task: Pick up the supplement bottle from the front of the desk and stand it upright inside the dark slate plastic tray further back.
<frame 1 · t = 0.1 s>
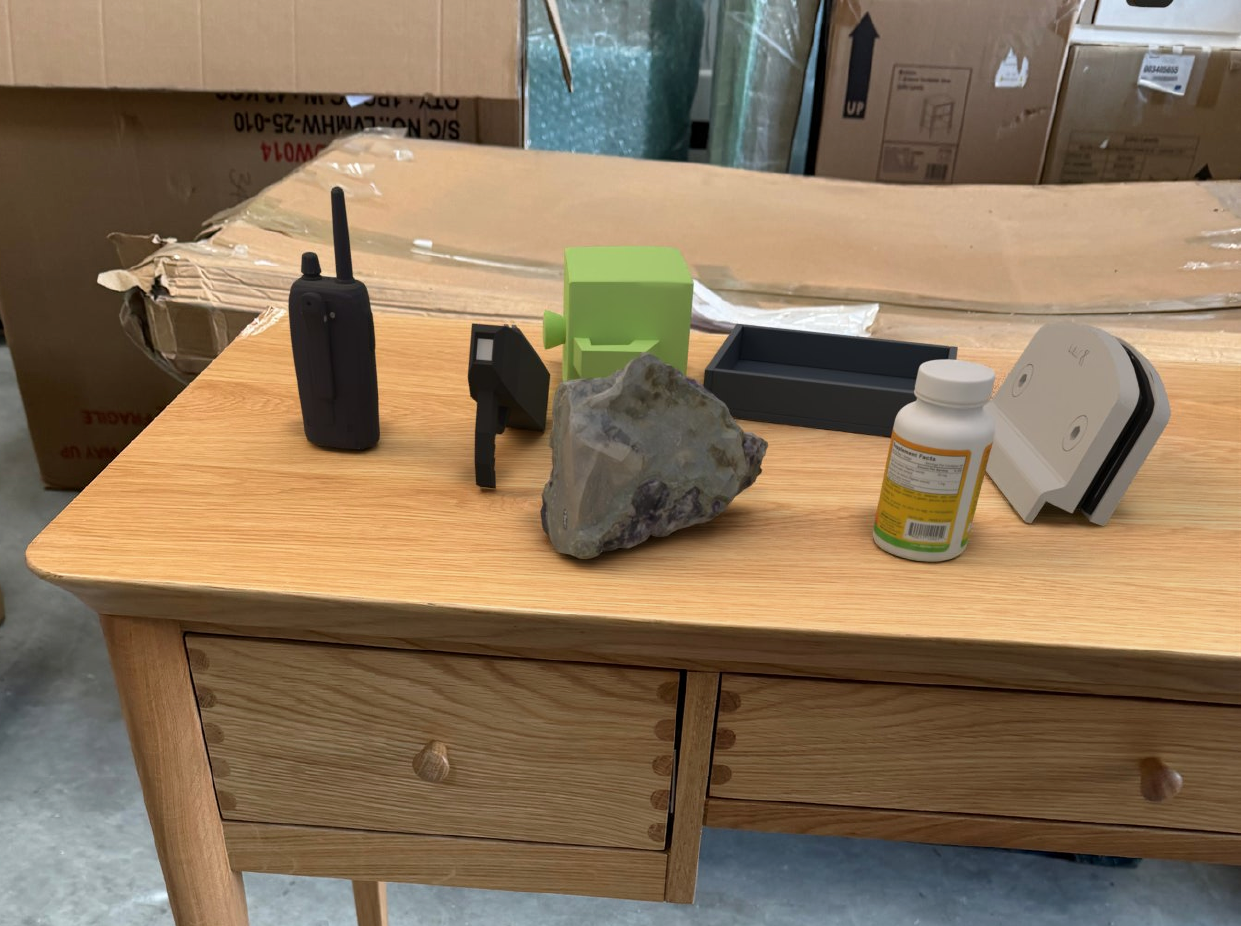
hand: (1097, 1, 59), 25 cm above the table, tool pointing down, fingers open, 8 cm apart
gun: (510, 455, 78), on the table
two-way radio: (339, 449, 78), on the table
tray: (829, 400, 88), on the table
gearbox: (607, 398, 88), on the table
mineral rock: (652, 538, 68), on the table
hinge: (1043, 479, 77), on the table
supplement bottle: (917, 547, 68), on the table
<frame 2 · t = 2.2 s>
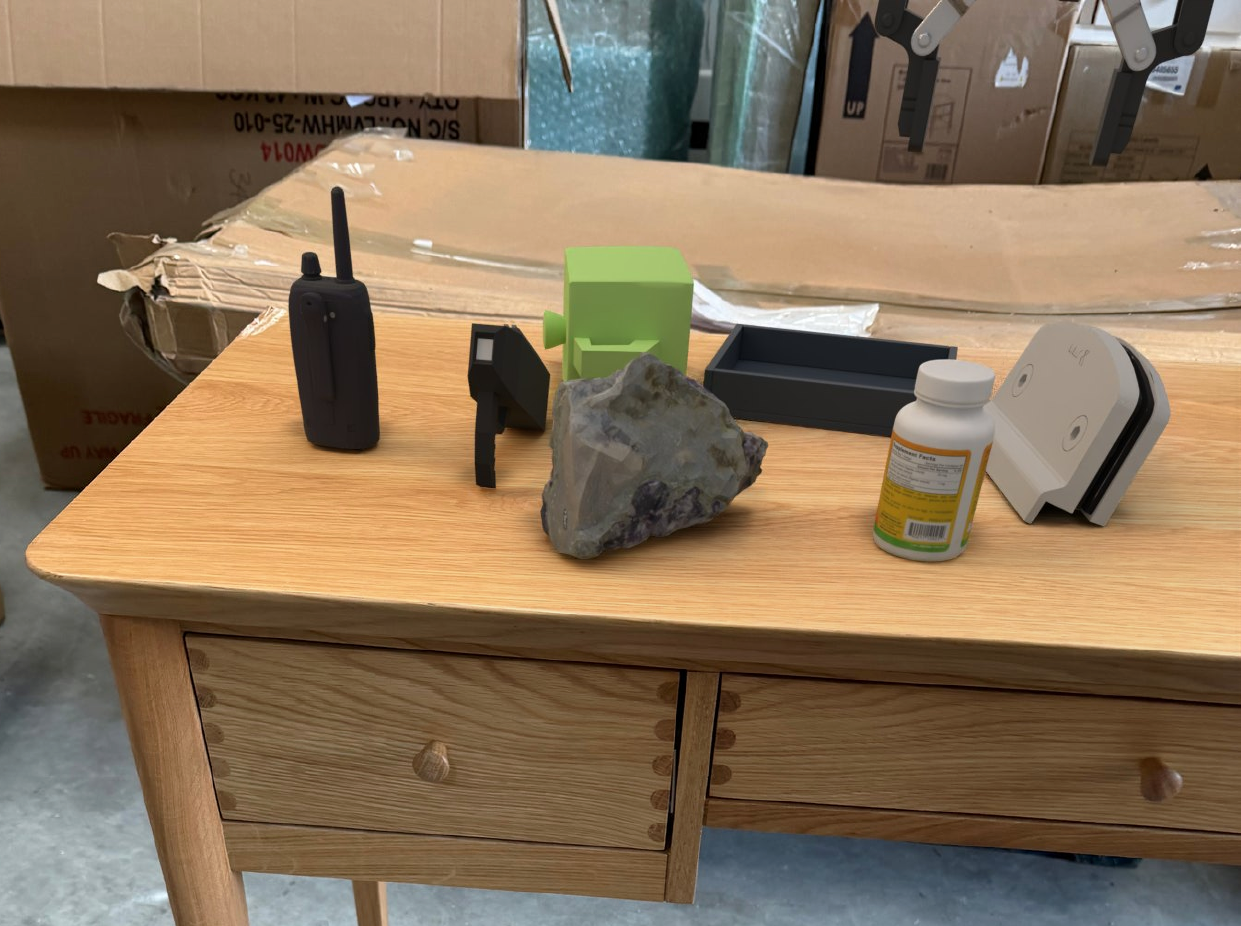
hand: (1004, 157, 57), 19 cm above the table, tool pointing down, fingers open, 8 cm apart
nothing on the table moved.
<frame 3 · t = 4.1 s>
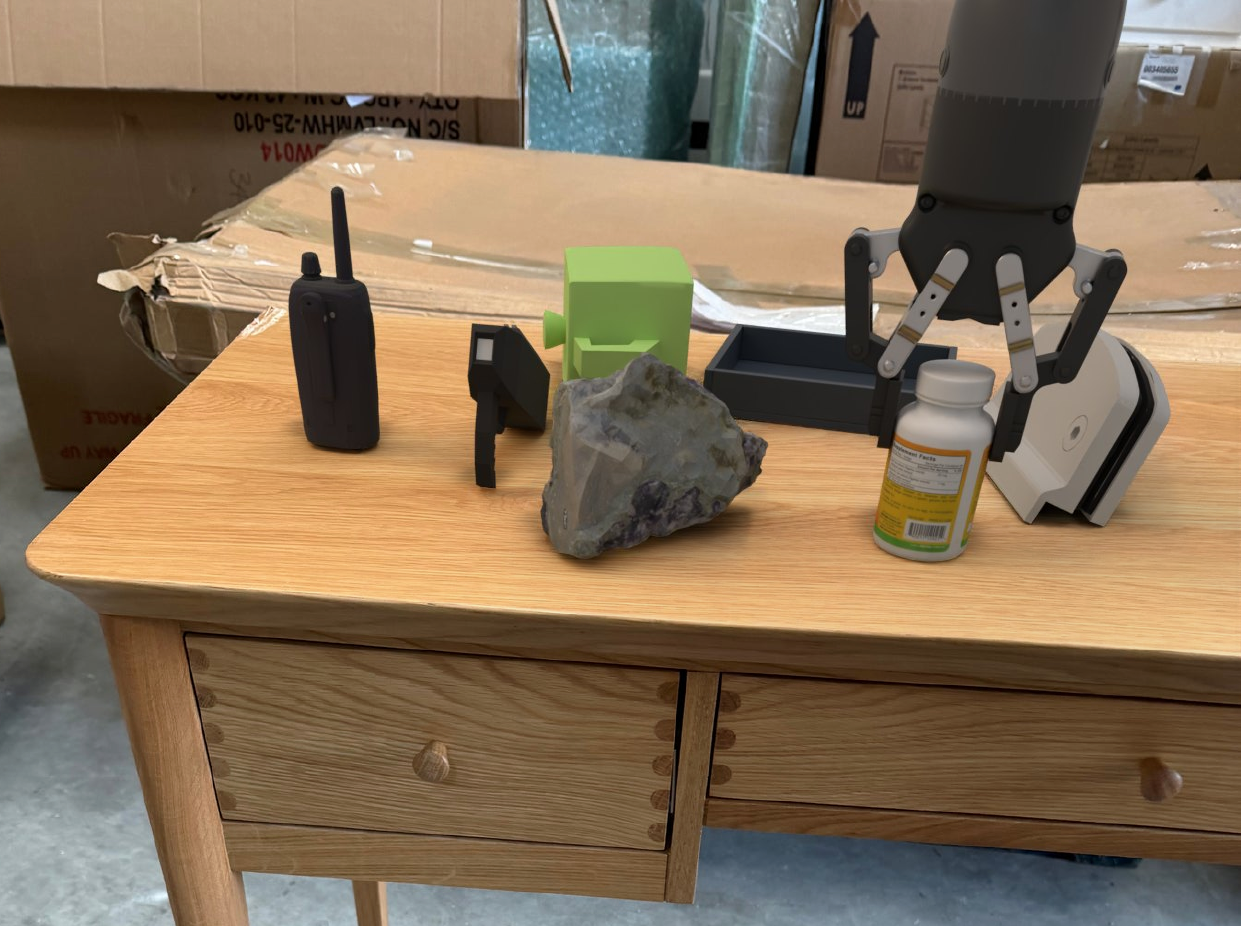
hand: (938, 449, 65), 5 cm above the table, tool pointing down, fingers closed on supplement bottle, 5 cm apart
supplement bottle: (917, 547, 68), on the table, touching gripper
everything else where it was.
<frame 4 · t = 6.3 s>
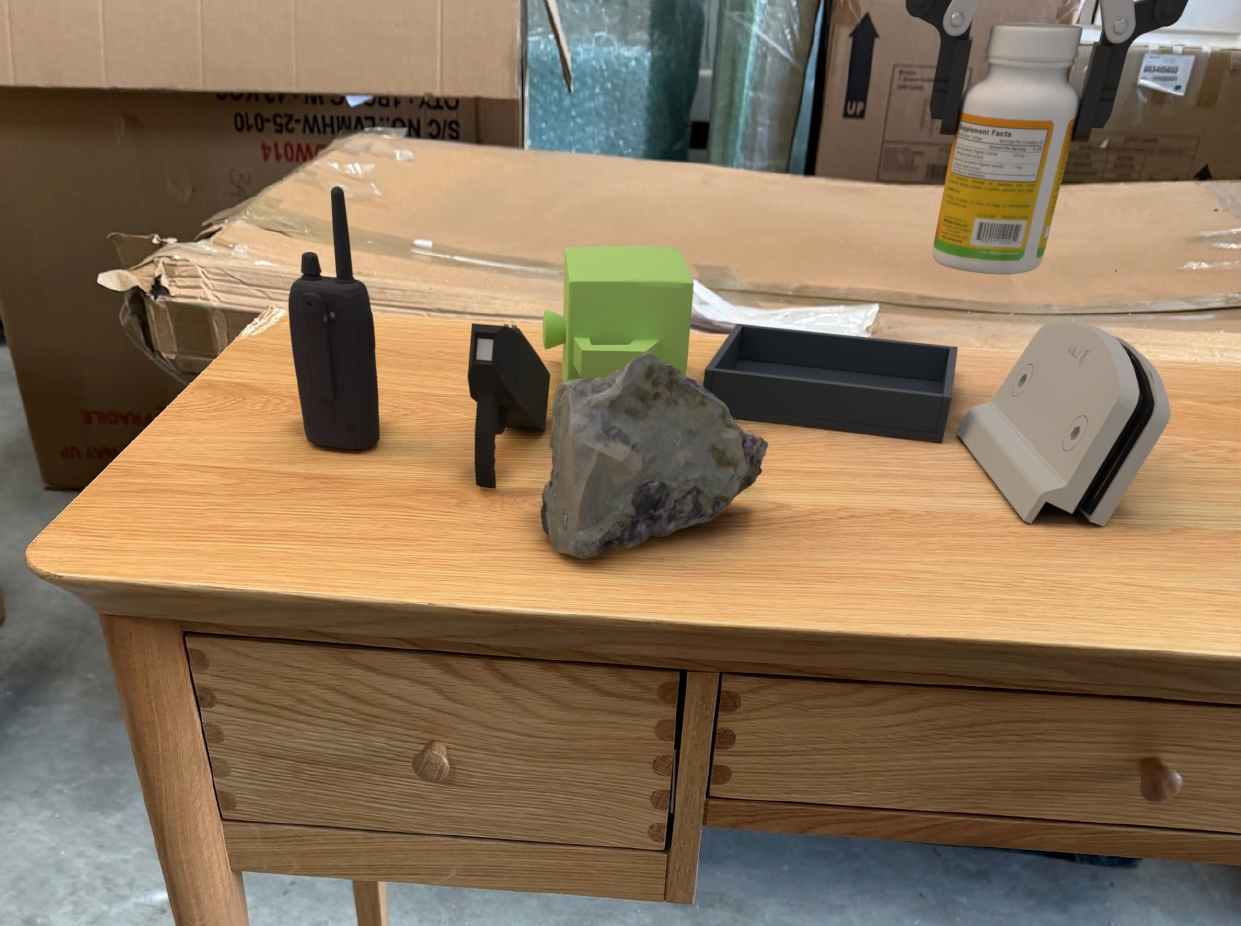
hand: (1012, 134, 56), 20 cm above the table, tool pointing down, fingers closed on supplement bottle, 5 cm apart
supplement bottle: (983, 267, 59), point 15 cm above the table, touching gripper
everything else where it was.
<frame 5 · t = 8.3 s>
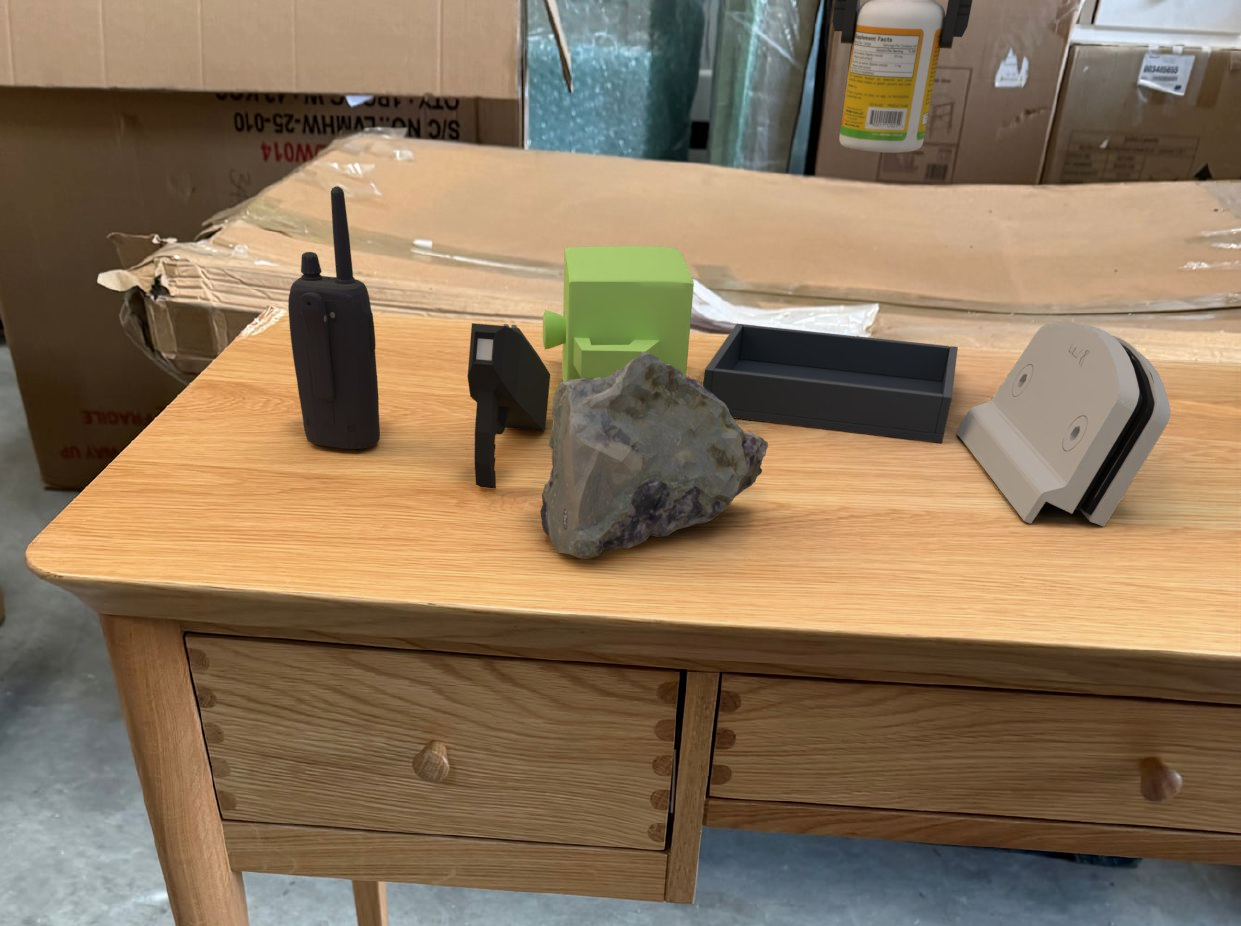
hand: (896, 43, 73), 22 cm above the table, tool pointing down, fingers closed on supplement bottle, 5 cm apart
supplement bottle: (879, 150, 76), point 16 cm above the table, touching gripper
everything else where it was.
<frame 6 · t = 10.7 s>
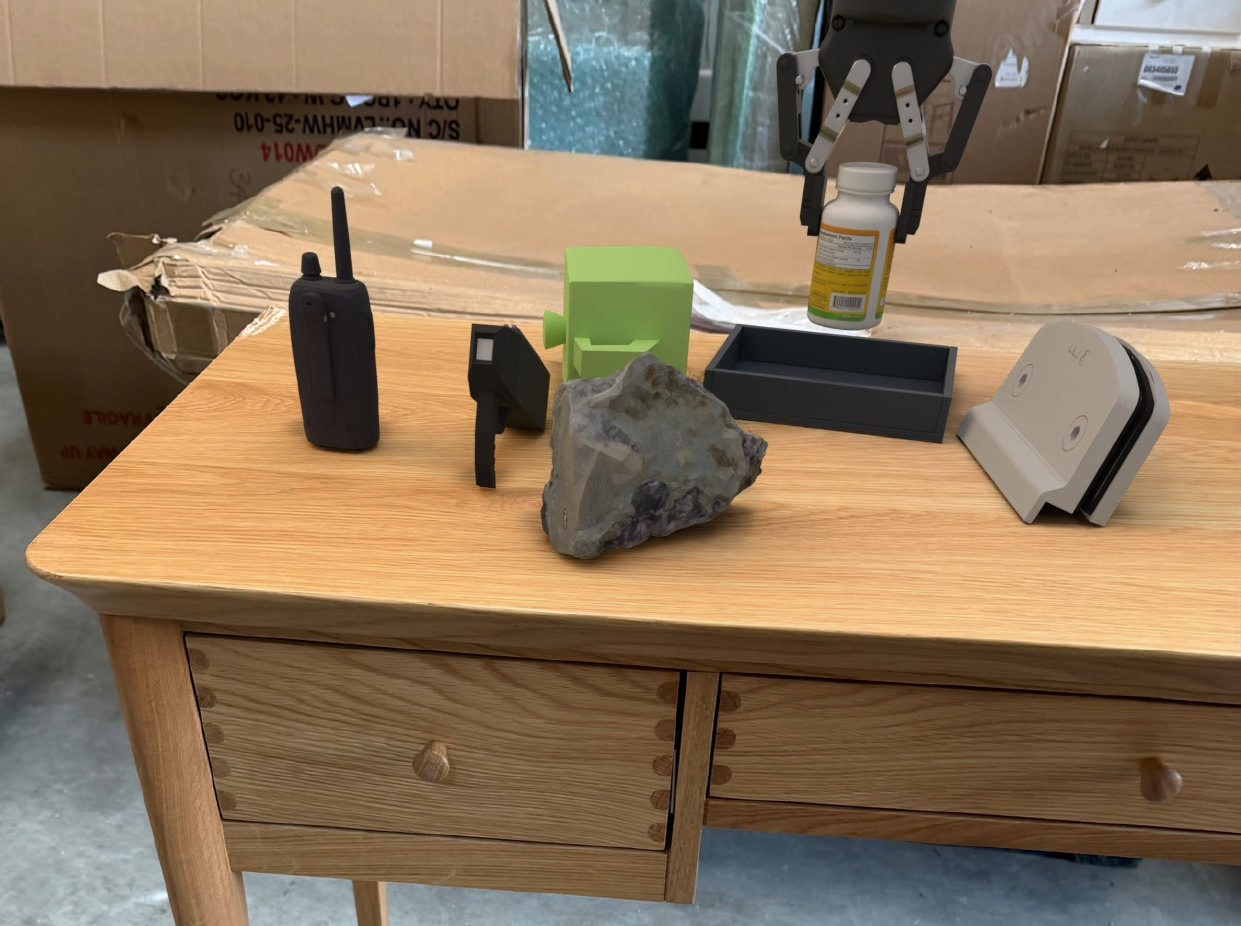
hand: (856, 236, 81), 11 cm above the table, tool pointing down, fingers closed on supplement bottle, 5 cm apart
supplement bottle: (842, 324, 85), point 5 cm above the table, touching gripper
everything else where it was.
when the fingers open (6 cm above the table, at t = 12.5 s): supplement bottle stays where it is, resting on tray.
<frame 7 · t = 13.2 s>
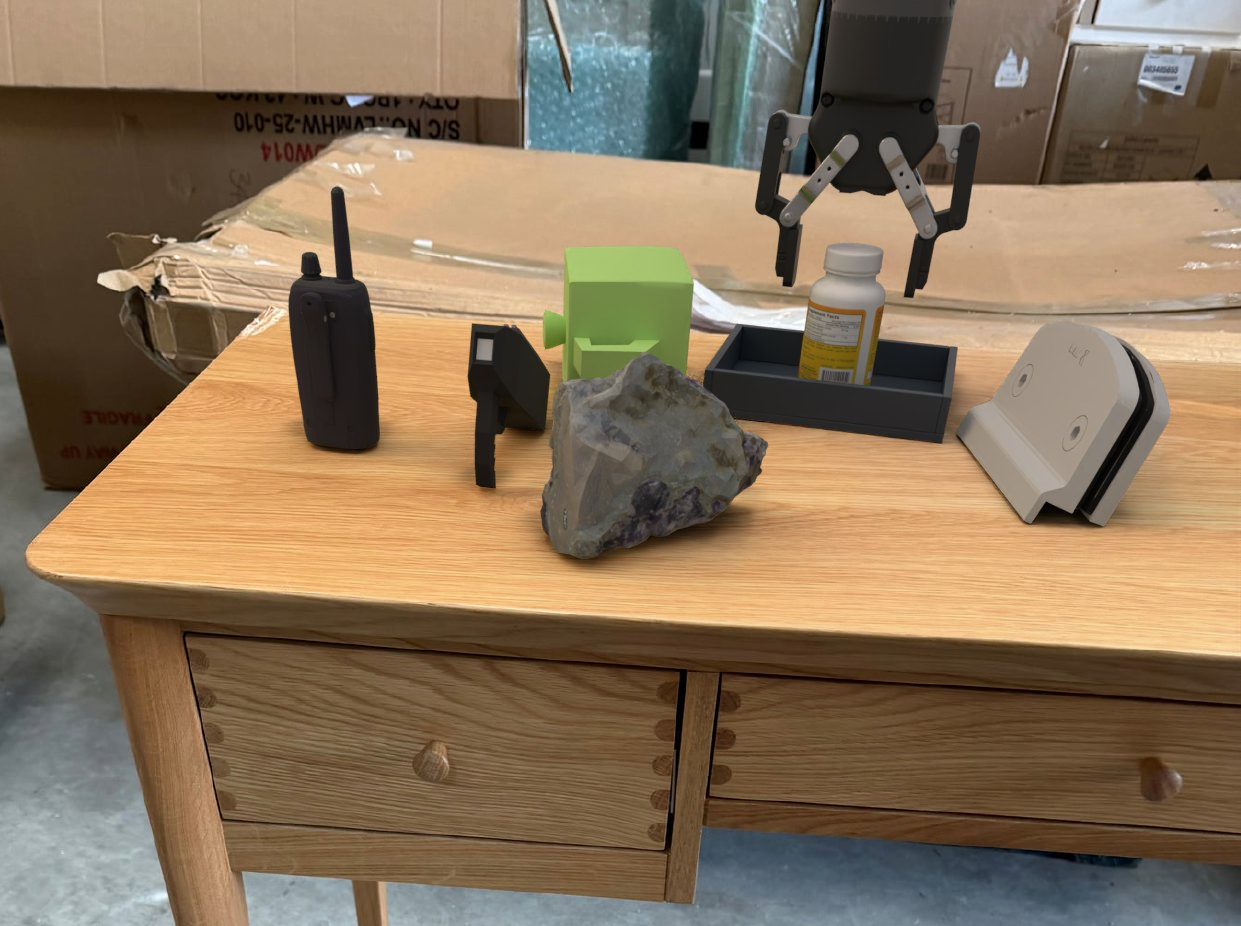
hand: (847, 290, 84), 8 cm above the table, tool pointing down, fingers open, 8 cm apart
supplement bottle: (831, 395, 88), resting on tray
everything else where it was.
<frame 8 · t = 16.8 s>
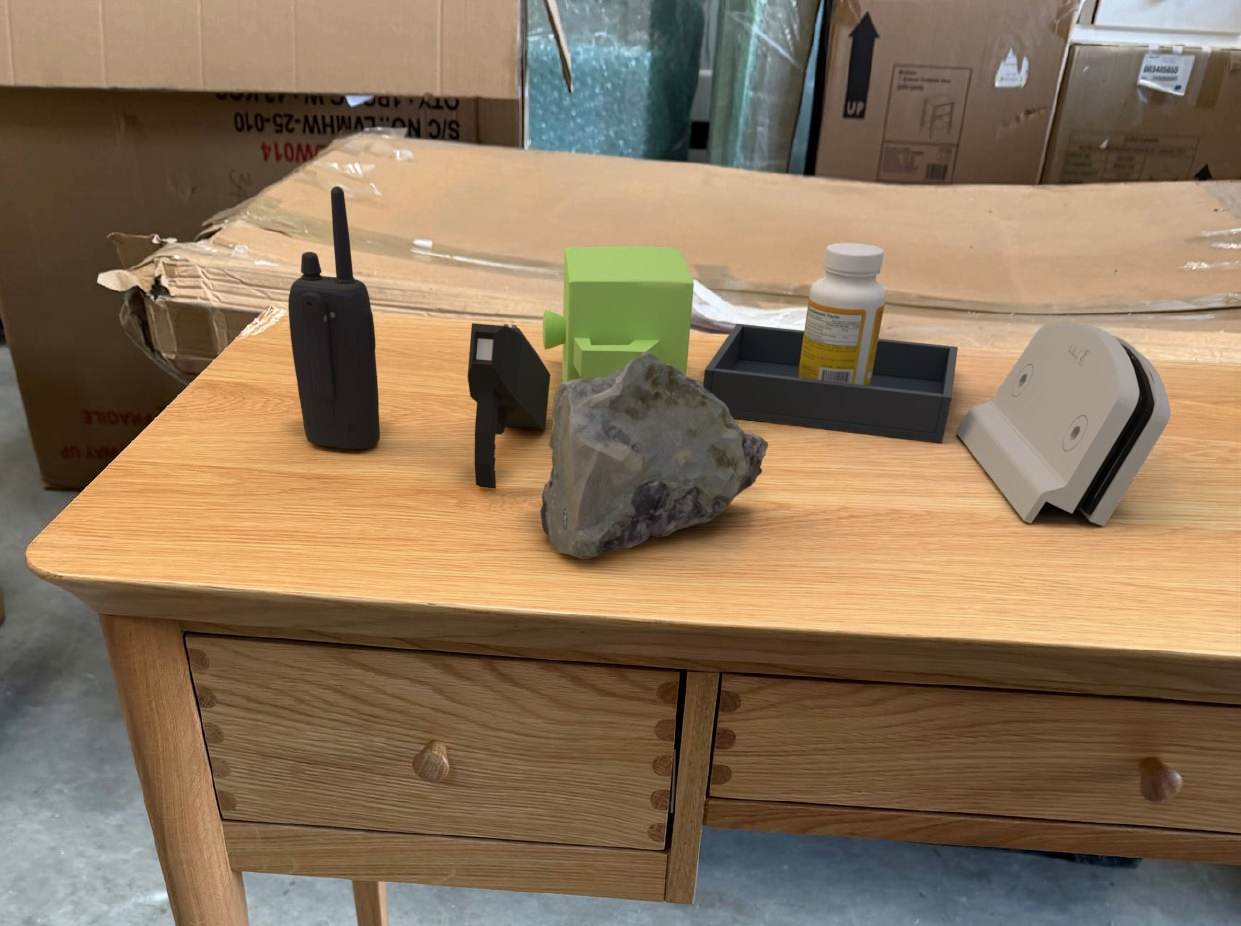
nothing on the table moved.
at the end: supplement bottle inside the target area in the tray (0.1 cm from its centre), point 0.4 cm above the tray's base; supplement bottle tilted 0°; the gripper is holding nothing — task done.
